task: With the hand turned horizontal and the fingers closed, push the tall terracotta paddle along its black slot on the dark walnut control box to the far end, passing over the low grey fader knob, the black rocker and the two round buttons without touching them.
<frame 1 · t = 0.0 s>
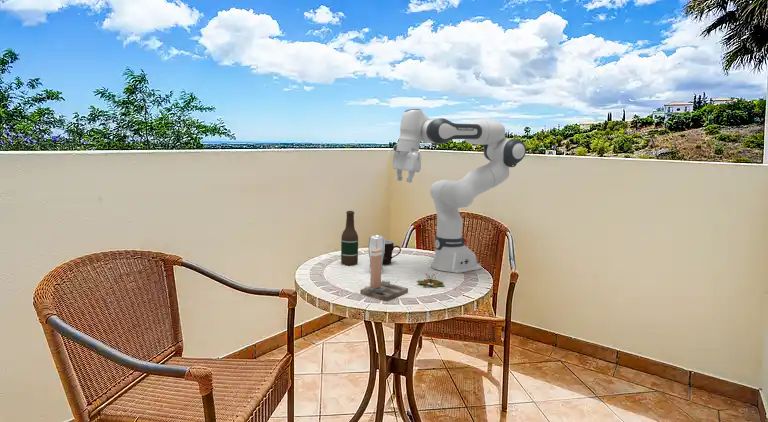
hand: (404, 181, 189), 39 cm above the table, tool pointing down, fingers open, 8 cm apart
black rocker: (380, 290, 160), point 3 cm above the table, hinge at -10.0°
coffee mug: (386, 264, 207), on the table
beer bottle: (349, 264, 205), on the table
terracotta paddle: (376, 268, 165), point 9 cm above the table, slide at 0.0 cm
walnut control box: (381, 293, 165), on the table
beer glass: (375, 271, 194), on the table
grey fader knob: (385, 282, 169), point 3 cm above the table, slide at 0.0 cm
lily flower: (430, 285, 179), on the table
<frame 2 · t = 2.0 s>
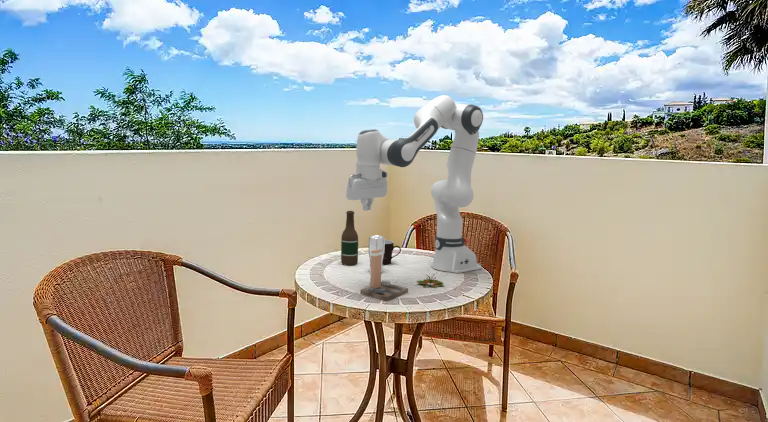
hand: (366, 210, 171), 29 cm above the table, tool pointing down, fingers closed
nothing on the table moved.
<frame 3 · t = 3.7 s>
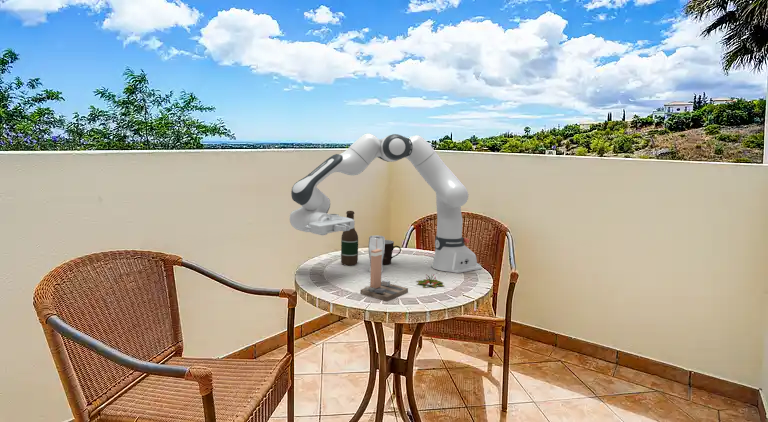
hand: (347, 228, 172), 22 cm above the table, tool horizontal, fingers closed
nothing on the table moved.
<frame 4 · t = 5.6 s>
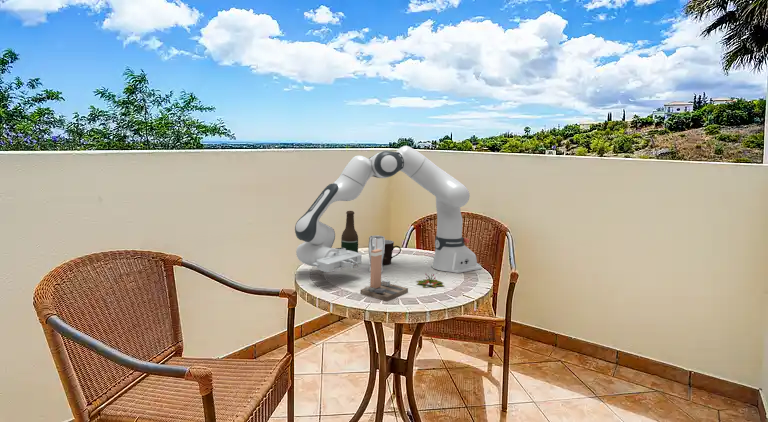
hand: (355, 265, 172), 8 cm above the table, tool horizontal, fingers closed
nothing on the table moved.
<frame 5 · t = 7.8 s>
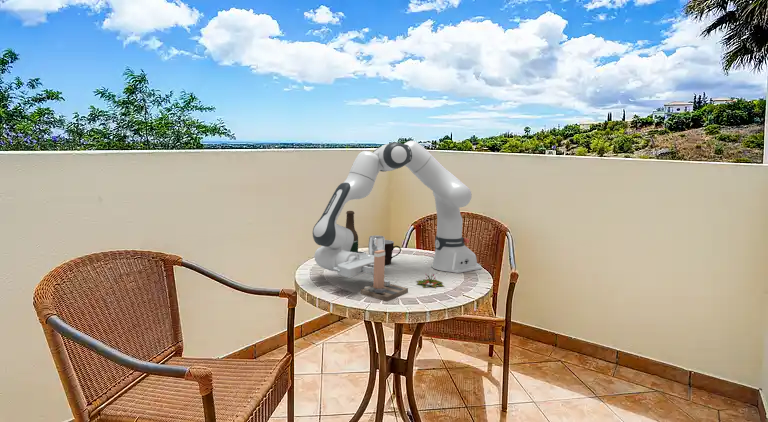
hand: (377, 270, 165), 8 cm above the table, tool horizontal, fingers closed, pressing on terracotta paddle
terracotta paddle: (379, 269, 164), point 9 cm above the table, slide at 1.5 cm, touching gripper
everything else where it was.
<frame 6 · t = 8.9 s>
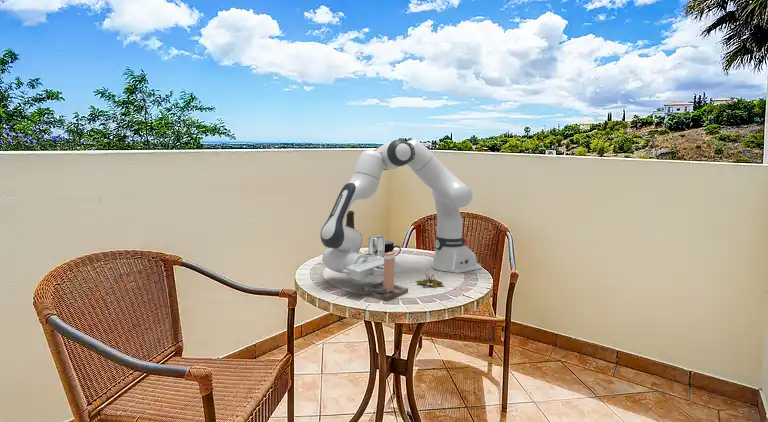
hand: (387, 272, 162), 8 cm above the table, tool horizontal, fingers closed, pressing on terracotta paddle
terracotta paddle: (389, 272, 162), point 9 cm above the table, slide at 5.9 cm, touching gripper
everything else where it was.
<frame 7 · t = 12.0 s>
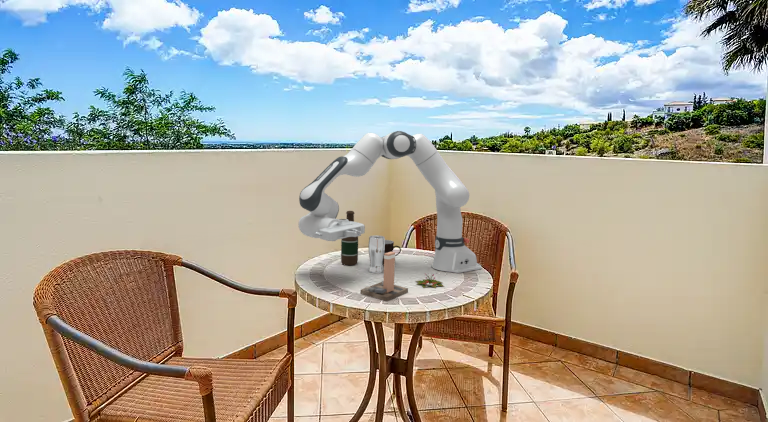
hand: (358, 234, 169), 20 cm above the table, tool horizontal, fingers closed
terracotta paddle: (389, 272, 162), point 9 cm above the table, slide at 5.9 cm
everything else where it was.
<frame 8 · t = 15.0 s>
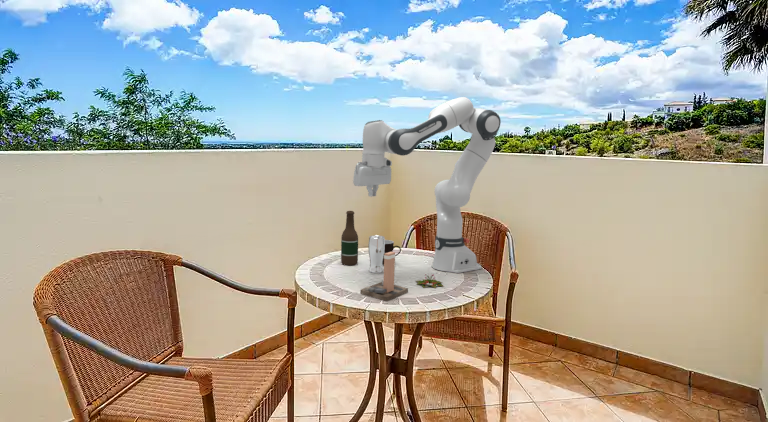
hand: (372, 196, 182), 33 cm above the table, tool pointing down, fingers closed
nothing on the table moved.
at the end: terracotta paddle slide at 5.9 cm; grey fader knob slide at 0.0 cm; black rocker at -10° (first picture: -10°) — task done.
